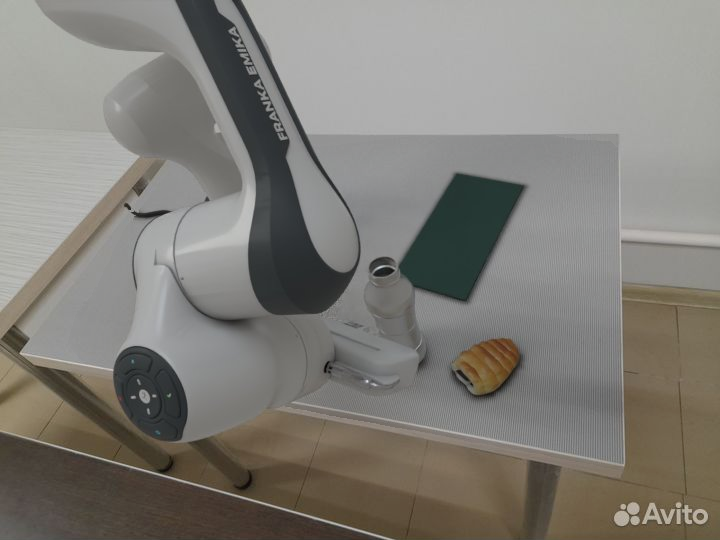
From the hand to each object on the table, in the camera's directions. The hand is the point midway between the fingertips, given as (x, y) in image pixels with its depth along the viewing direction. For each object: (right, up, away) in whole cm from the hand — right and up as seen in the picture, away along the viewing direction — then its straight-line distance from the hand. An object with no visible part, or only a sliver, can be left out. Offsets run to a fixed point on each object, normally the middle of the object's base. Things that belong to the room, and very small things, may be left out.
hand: (357, 330), depth 61 cm
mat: (+18, +14, +30) cm, 38 cm away
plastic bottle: (+7, -6, +16) cm, 19 cm away
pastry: (+18, -7, +12) cm, 23 cm away
